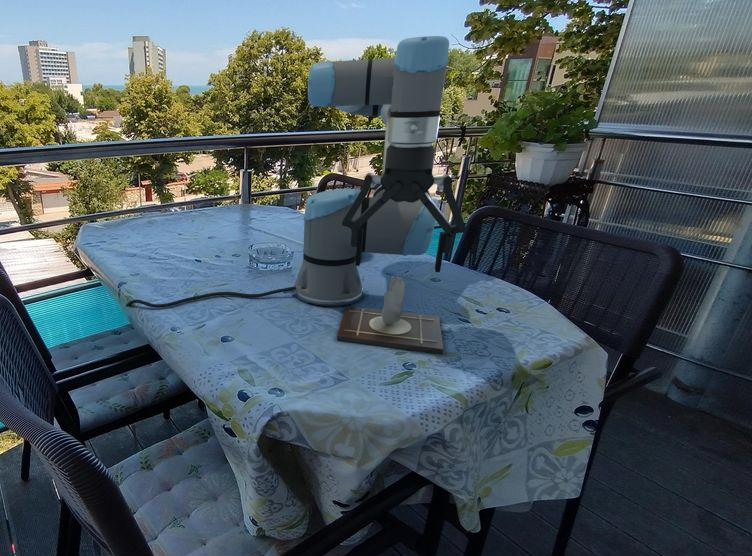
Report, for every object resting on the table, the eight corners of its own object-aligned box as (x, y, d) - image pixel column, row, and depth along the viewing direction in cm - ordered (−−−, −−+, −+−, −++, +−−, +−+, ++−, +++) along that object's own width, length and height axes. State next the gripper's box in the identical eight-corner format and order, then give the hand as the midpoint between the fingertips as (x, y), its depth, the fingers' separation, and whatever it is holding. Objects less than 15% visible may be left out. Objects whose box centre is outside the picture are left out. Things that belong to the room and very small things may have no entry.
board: (336, 340, 86) (337, 334, 86) (345, 310, 98) (346, 305, 98) (442, 354, 80) (443, 348, 80) (438, 320, 92) (439, 315, 92)
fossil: (402, 332, 86) (408, 282, 82) (382, 331, 86) (387, 281, 83) (398, 319, 91) (404, 271, 87) (379, 317, 92) (385, 270, 88)
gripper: (330, 147, 77) (324, 267, 85) (501, 146, 69) (475, 280, 77) (336, 142, 83) (330, 255, 92) (493, 141, 75) (470, 265, 84)
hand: (396, 266), depth 85 cm, fingers open, 13 cm apart
